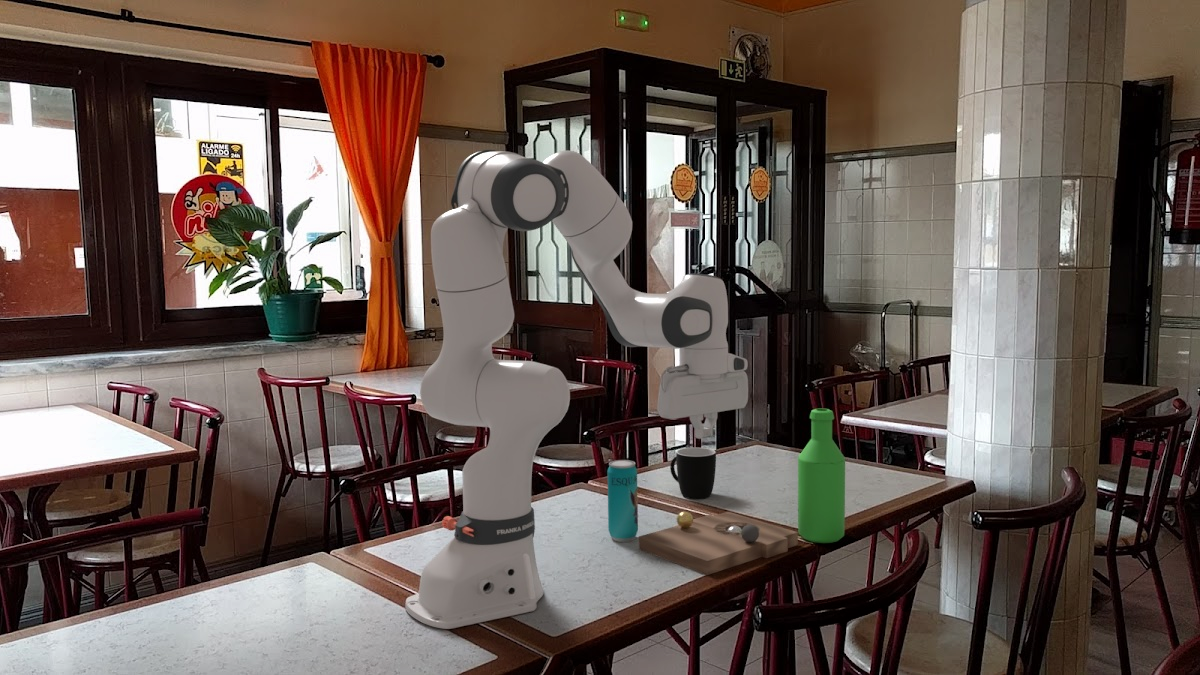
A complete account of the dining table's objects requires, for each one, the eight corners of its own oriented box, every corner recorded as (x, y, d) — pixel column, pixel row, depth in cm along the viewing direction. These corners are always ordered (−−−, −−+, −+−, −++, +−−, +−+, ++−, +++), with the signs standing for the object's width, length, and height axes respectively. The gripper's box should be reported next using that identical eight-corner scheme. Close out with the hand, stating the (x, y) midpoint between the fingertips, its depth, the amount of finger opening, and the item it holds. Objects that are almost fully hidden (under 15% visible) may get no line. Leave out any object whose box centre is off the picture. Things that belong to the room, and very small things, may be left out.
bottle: (852, 536, 178) (854, 409, 175) (830, 547, 171) (831, 415, 169) (812, 527, 184) (813, 404, 181) (789, 538, 177) (789, 410, 175)
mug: (724, 495, 208) (724, 451, 207) (698, 503, 202) (698, 458, 201) (684, 485, 217) (683, 443, 216) (658, 493, 211) (658, 450, 210)
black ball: (750, 546, 165) (750, 528, 165) (737, 541, 168) (737, 524, 168) (762, 542, 167) (762, 525, 167) (749, 538, 170) (749, 521, 170)
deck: (711, 576, 157) (711, 562, 157) (635, 548, 173) (635, 535, 173) (801, 546, 172) (801, 533, 172) (724, 522, 188) (724, 510, 188)
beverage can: (635, 543, 176) (634, 466, 174) (606, 542, 177) (604, 466, 175) (640, 534, 181) (639, 459, 180) (611, 533, 182) (610, 459, 181)
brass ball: (684, 531, 174) (684, 515, 174) (673, 527, 177) (673, 511, 177) (696, 528, 176) (696, 511, 176) (685, 524, 179) (685, 508, 179)
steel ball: (733, 543, 173) (737, 526, 173) (721, 539, 175) (725, 522, 176) (744, 545, 175) (748, 529, 175) (731, 541, 177) (736, 525, 178)
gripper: (673, 369, 159) (674, 447, 160) (754, 359, 171) (753, 433, 173) (649, 365, 164) (649, 442, 165) (729, 357, 176) (729, 428, 177)
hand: (703, 437), depth 169 cm, fingers closed
